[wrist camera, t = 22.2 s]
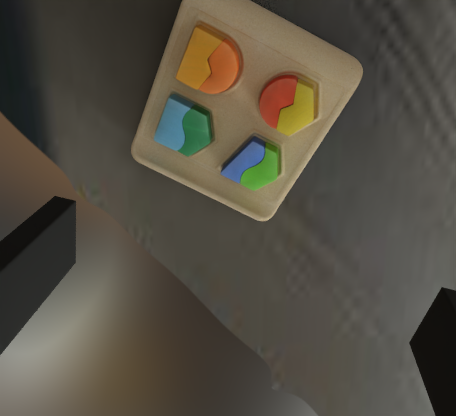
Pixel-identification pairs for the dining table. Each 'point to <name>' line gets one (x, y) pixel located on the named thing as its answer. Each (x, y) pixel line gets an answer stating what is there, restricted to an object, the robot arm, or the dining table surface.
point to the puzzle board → (241, 103)
